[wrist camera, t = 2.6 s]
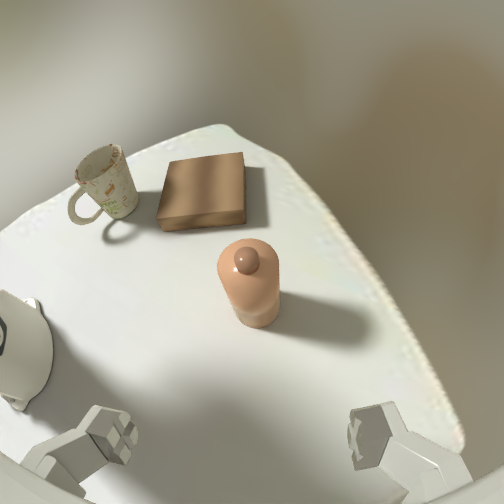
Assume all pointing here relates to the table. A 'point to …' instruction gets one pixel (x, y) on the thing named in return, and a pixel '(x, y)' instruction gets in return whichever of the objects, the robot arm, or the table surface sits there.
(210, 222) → the pedestal
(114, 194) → the mug
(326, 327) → the table surface
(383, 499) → the table surface
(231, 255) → the canister
